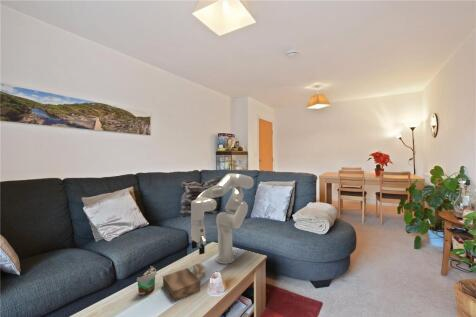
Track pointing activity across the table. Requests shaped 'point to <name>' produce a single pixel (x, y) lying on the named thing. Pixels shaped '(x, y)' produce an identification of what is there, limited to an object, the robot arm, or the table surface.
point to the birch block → (199, 270)
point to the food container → (147, 282)
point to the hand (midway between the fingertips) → (197, 250)
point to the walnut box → (181, 284)
